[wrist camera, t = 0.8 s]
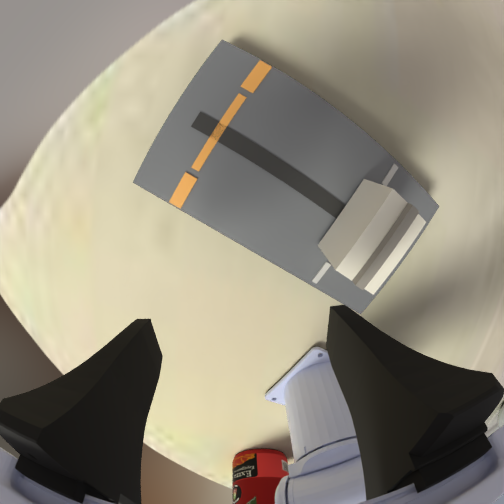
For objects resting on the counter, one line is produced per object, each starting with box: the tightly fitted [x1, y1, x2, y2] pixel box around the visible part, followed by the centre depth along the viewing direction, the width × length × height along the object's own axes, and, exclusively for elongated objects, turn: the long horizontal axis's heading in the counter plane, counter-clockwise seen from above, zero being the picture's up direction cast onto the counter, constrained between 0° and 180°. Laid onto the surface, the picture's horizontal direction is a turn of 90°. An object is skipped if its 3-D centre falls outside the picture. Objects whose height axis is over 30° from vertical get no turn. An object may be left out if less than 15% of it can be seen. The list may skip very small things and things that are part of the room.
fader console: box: [133, 40, 439, 314], centre depth 16 cm, size 18×10×2 cm, turn 58°
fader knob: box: [318, 179, 426, 295], centre depth 14 cm, size 3×5×4 cm, turn 147°
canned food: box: [233, 449, 289, 504], centre depth 26 cm, size 8×8×11 cm
